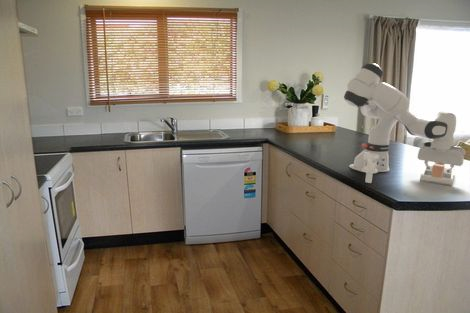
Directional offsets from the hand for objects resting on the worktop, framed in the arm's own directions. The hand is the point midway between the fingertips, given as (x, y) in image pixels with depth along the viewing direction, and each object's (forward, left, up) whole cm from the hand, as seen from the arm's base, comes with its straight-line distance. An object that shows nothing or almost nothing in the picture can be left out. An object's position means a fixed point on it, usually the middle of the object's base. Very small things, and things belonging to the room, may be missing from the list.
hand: (437, 171), depth 181 cm
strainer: (-36, +10, -5) cm, 38 cm away
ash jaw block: (+10, +7, -4) cm, 13 cm away
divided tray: (+5, +3, -5) cm, 8 cm away
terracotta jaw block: (0, 0, -4) cm, 4 cm away
